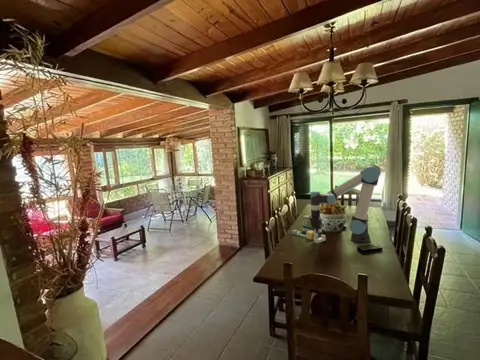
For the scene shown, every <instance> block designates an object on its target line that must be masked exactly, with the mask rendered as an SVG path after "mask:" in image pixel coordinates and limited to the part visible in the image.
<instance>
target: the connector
mask: <svg viewBox="0 0 480 360" xmlns="http://www.w3.org/2000/svg"><path fill="white" fill-rule="evenodd" d="M297 232H299V230H298V229H293V230H291V234H292V235H294V236H295V235H296V233H297ZM296 236H297V235H296Z"/></svg>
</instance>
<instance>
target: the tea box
mask: <svg viewBox="0 0 480 360" xmlns="http://www.w3.org/2000/svg"><path fill="white" fill-rule="evenodd" d="M309 216H311V214H305V215H303V216H302V231H303V232H305V233H306V232H307V231H310V230H311V231H314V229H313V228H312V227H311V222H310V218H309ZM320 218H322V216H320ZM322 219H323V218H322ZM318 222H319V221H318ZM322 224H323V223H322V222H321V227H320V229H318V234H320V233H322V232H323V229H322Z"/></svg>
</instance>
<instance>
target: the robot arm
mask: <svg viewBox="0 0 480 360" xmlns="http://www.w3.org/2000/svg"><path fill="white" fill-rule="evenodd" d="M381 173H382V172H381V168H380V167H379V166H378V165H376V164H370V165H367V166H366V167H364V168H363V169H362V170H361V171H360V172H359V173H358V174H357V175H356V176H355V175H354V177H352V178H350V179H348V180H346V181H344V182H343V183H342V184H339V185H338V186H337V187H335V188H333V189H331V190H329V191H328V192H327V193H321V192H320V191H319V190H312V191H311V192H310V215H311V216H309V218H310V222H311V227H312V228H313V229H314V237H317V238H318V237H319V233H318V229H320V227H321V222H322V221H323V218H320V217H321V204H328V205H329V204H335V202H336V199H337V198H338V197H340V196H342V195H344V194H346V193H348V192H350V191H351V190H353V189H355V188H357V187H358V186H360V185H361V186H360V192H359V195H358V200H357V204H356V207H355V211H354V213H352V215H351V219H350V222H349V230H350V232H351V234H350V235H351V236H350V240H351V241H352V242H353V243H359V244H367V243H370V242H371V236H370V233H369V214H368V212H369V209H370V208H369V207H370V205H371V201H372V197H373V193H374V189H375V187H376V186H378V183H379V179H380V176H381ZM318 221H319V222H318Z"/></svg>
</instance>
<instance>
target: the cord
mask: <svg viewBox="0 0 480 360" xmlns="http://www.w3.org/2000/svg"><path fill="white" fill-rule="evenodd" d="M296 236H300V237H303V238H305V237H306V239H307V236H306V234H303V233H299V235H297V233H296ZM312 239H313V240H312V241H314V237H312ZM322 242H324V241H323V240H321V242H320V243H322Z"/></svg>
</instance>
